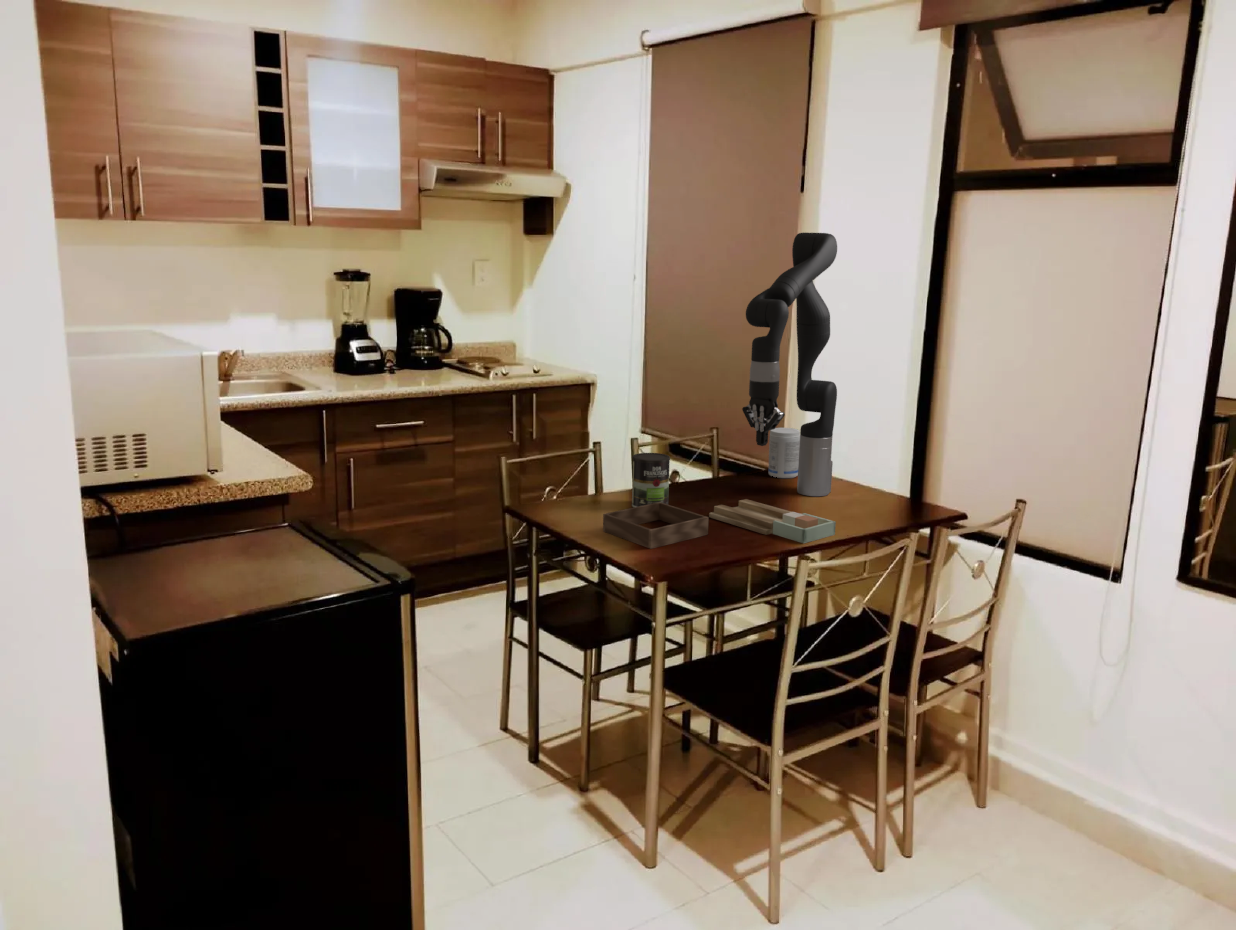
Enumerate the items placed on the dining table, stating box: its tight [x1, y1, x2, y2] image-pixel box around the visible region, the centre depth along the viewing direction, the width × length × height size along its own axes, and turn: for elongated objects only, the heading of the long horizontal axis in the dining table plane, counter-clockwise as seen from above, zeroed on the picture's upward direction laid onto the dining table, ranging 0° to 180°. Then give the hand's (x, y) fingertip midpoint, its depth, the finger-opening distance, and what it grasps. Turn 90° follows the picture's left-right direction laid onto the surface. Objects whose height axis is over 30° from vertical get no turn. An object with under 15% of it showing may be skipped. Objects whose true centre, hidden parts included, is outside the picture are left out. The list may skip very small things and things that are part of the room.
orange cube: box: [795, 515, 818, 529], centre depth 236 cm, size 4×4×4 cm
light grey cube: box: [782, 511, 804, 526], centre depth 239 cm, size 4×4×4 cm
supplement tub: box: [767, 427, 800, 479], centre depth 298 cm, size 10×10×15 cm
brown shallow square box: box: [602, 502, 710, 549], centre depth 236 cm, size 19×18×4 cm
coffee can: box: [631, 452, 671, 508], centre depth 260 cm, size 10×10×14 cm
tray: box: [772, 512, 837, 544], centre depth 237 cm, size 12×10×3 cm
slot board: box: [708, 498, 792, 535], centre depth 249 cm, size 16×20×3 cm
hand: (761, 445), depth 244 cm, fingers closed
